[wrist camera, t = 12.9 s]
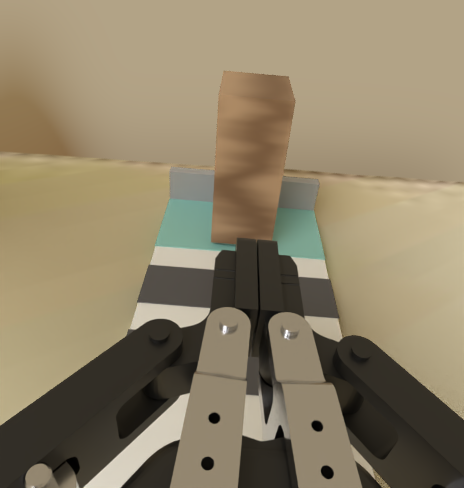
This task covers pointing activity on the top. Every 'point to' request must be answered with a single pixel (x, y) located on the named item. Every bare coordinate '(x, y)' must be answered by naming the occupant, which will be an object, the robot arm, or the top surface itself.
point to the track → (200, 292)
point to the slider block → (250, 154)
